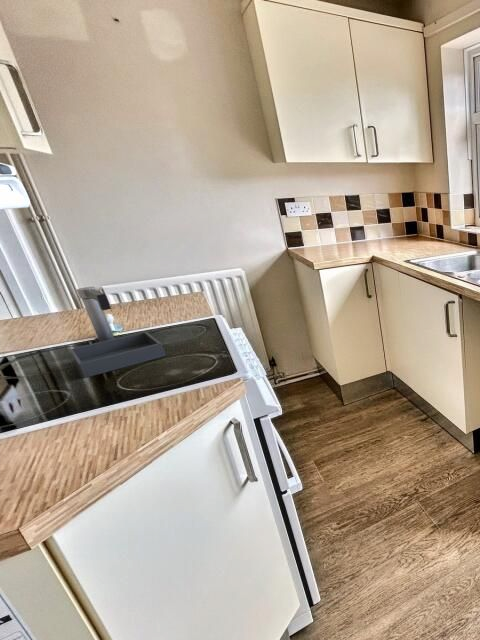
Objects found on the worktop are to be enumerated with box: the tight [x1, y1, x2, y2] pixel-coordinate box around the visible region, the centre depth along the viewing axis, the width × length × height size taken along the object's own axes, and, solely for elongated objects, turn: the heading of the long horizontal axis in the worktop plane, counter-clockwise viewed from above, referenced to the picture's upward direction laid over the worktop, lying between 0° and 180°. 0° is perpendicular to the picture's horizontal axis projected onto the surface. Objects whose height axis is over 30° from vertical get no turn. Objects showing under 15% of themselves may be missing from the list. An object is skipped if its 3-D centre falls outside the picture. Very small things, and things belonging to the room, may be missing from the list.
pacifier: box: [94, 313, 123, 339], centre depth 120 cm, size 7×6×6 cm
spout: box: [76, 286, 112, 311], centre depth 105 cm, size 3×13×4 cm, turn 57°
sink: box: [68, 331, 167, 379], centre depth 105 cm, size 15×14×4 cm
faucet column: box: [81, 298, 116, 342], centre depth 110 cm, size 6×6×14 cm
